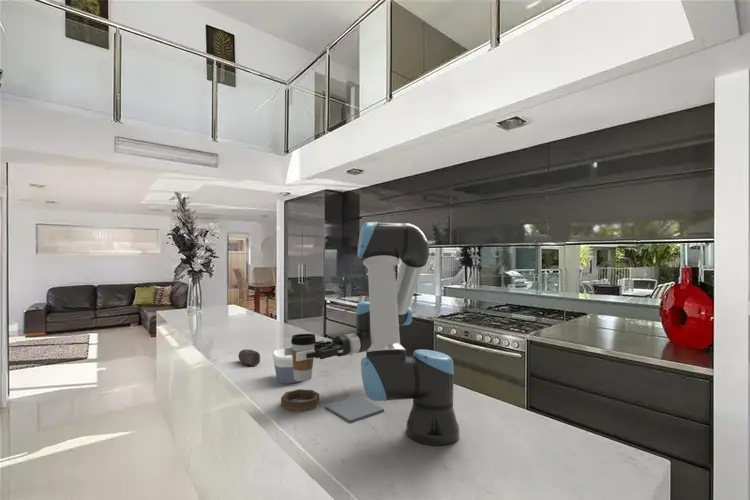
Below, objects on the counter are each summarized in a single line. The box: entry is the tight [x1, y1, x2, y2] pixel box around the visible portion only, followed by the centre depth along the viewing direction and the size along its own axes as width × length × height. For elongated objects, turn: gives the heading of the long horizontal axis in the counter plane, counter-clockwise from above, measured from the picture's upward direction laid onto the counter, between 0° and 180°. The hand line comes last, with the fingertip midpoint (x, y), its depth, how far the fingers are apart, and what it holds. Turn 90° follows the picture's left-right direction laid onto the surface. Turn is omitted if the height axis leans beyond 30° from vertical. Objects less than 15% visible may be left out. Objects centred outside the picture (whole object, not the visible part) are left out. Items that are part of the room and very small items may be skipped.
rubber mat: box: [324, 396, 385, 424], centre depth 121 cm, size 14×14×1 cm
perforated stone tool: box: [238, 348, 261, 367], centre depth 172 cm, size 15×5×7 cm, turn 48°
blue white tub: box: [272, 348, 304, 385], centre depth 151 cm, size 15×15×11 cm
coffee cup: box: [290, 333, 317, 382], centre depth 125 cm, size 8×8×15 cm
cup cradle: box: [280, 388, 320, 413], centre depth 125 cm, size 12×12×3 cm
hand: (290, 354), depth 122 cm, fingers closed on coffee cup, 8 cm apart
